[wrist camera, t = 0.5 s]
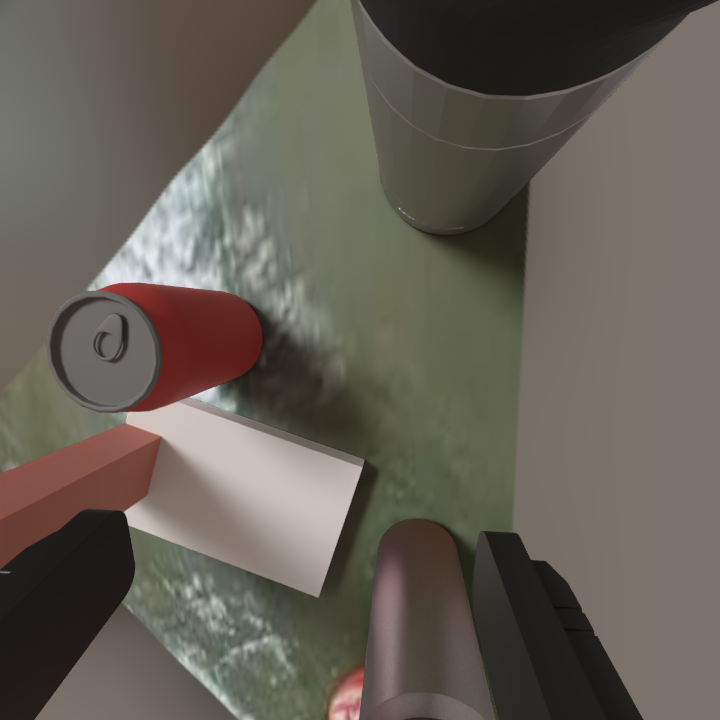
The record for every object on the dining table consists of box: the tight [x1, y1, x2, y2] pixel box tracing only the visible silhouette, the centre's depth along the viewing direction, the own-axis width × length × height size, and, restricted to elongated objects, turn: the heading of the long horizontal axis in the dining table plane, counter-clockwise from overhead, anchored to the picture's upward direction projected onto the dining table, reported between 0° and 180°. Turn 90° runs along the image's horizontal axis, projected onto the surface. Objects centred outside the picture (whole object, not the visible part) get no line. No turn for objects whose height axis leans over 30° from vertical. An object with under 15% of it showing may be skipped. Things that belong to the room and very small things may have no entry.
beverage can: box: [359, 519, 495, 720], centre depth 22 cm, size 6×6×15 cm
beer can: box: [46, 283, 263, 413], centre depth 23 cm, size 7×7×12 cm
